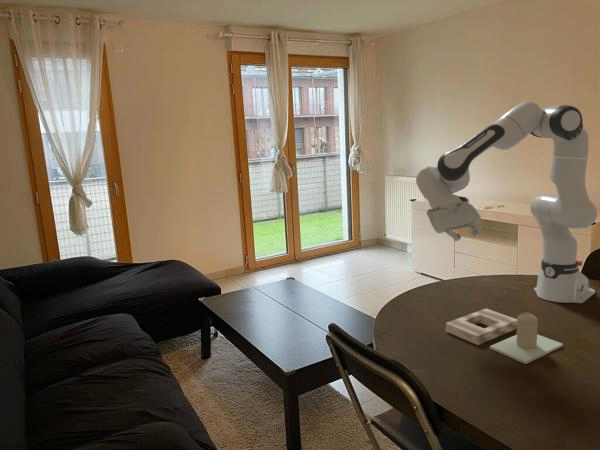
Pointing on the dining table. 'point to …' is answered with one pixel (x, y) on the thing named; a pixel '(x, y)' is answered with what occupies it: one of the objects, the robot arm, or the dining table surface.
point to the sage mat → (523, 354)
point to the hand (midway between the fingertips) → (468, 237)
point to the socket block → (476, 334)
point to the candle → (527, 330)
